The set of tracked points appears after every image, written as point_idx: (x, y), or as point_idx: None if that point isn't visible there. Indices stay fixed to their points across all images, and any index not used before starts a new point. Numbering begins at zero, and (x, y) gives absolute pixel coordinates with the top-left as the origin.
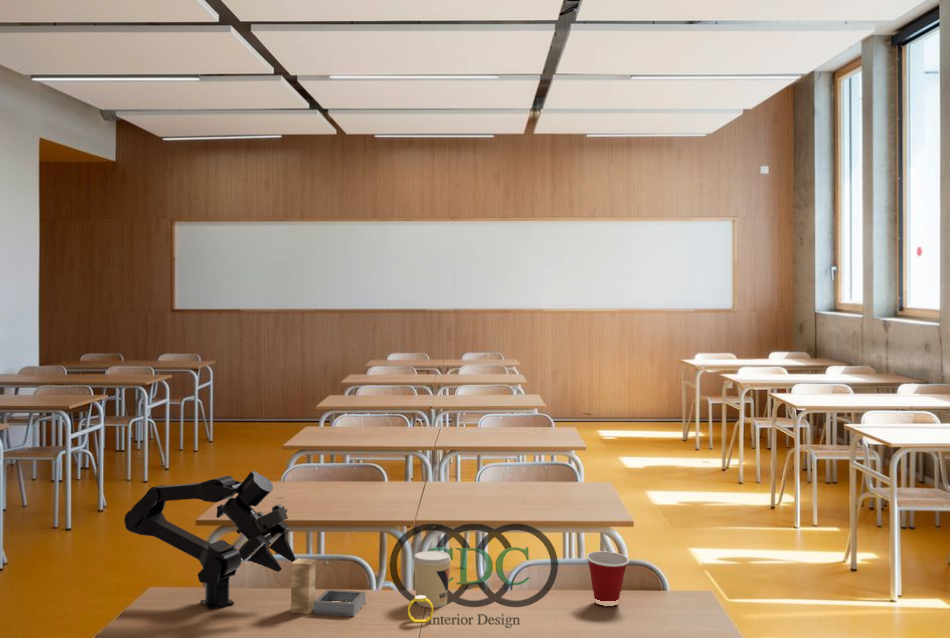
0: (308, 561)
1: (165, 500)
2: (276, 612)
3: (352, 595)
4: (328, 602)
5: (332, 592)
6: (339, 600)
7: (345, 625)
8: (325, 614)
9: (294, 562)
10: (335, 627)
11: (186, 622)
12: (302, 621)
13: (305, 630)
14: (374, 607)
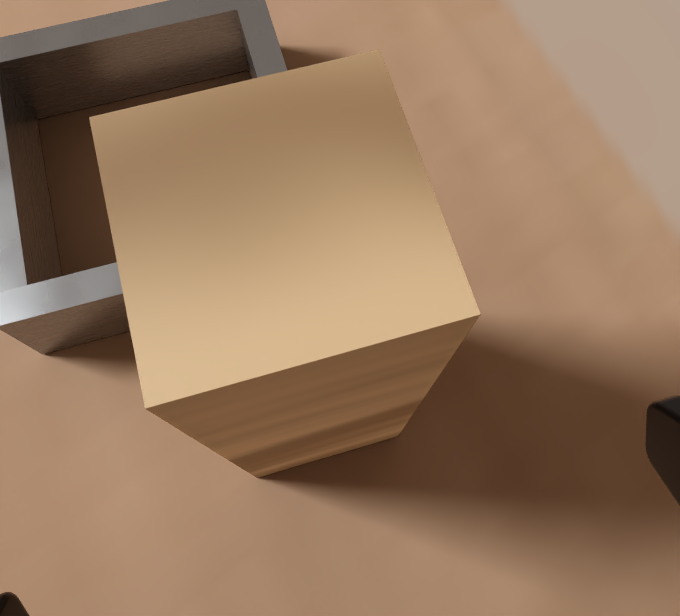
0: (243, 144)
1: None
2: (438, 554)
3: (15, 130)
4: None
5: (29, 267)
6: (48, 239)
7: (418, 13)
8: None
9: (410, 300)
10: (476, 40)
11: None
12: (496, 258)
13: (616, 150)
14: None
